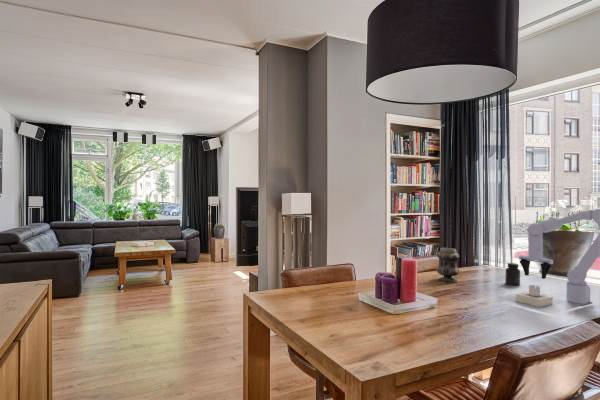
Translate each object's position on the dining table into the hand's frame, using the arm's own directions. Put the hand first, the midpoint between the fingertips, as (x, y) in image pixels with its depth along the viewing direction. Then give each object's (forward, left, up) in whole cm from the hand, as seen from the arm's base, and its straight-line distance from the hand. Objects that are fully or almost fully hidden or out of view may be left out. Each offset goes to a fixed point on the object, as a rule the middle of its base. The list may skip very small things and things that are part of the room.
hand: (535, 276), depth 172 cm
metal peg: (+14, +7, -8) cm, 18 cm away
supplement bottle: (-11, -17, -10) cm, 22 cm away
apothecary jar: (+9, -42, -10) cm, 44 cm away
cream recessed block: (+10, +4, -9) cm, 14 cm away
